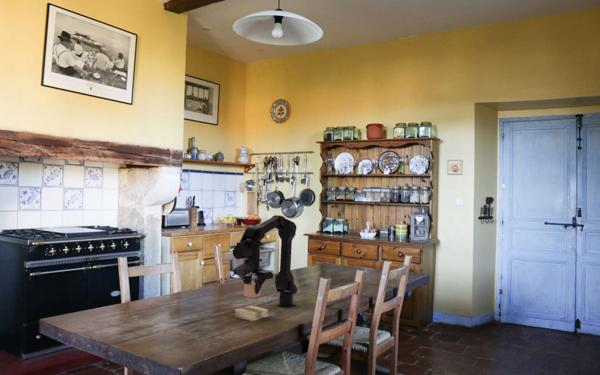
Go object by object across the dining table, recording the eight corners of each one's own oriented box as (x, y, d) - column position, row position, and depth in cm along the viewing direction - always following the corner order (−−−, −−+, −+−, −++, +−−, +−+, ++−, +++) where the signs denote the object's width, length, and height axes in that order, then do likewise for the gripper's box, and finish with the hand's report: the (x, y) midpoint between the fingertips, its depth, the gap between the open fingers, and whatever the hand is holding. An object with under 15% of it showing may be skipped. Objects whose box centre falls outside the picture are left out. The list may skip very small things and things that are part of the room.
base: (251, 312, 213) (251, 305, 213) (268, 316, 207) (268, 309, 207) (235, 316, 205) (235, 309, 205) (251, 321, 199) (251, 313, 199)
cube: (252, 293, 210) (252, 282, 210) (260, 295, 207) (260, 283, 207) (243, 295, 206) (244, 283, 206) (252, 297, 203) (252, 285, 203)
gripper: (224, 256, 206) (223, 292, 206) (255, 261, 194) (254, 299, 194) (243, 253, 215) (242, 288, 215) (274, 258, 203) (273, 295, 203)
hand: (252, 293), depth 206 cm, fingers closed on cube, 5 cm apart
